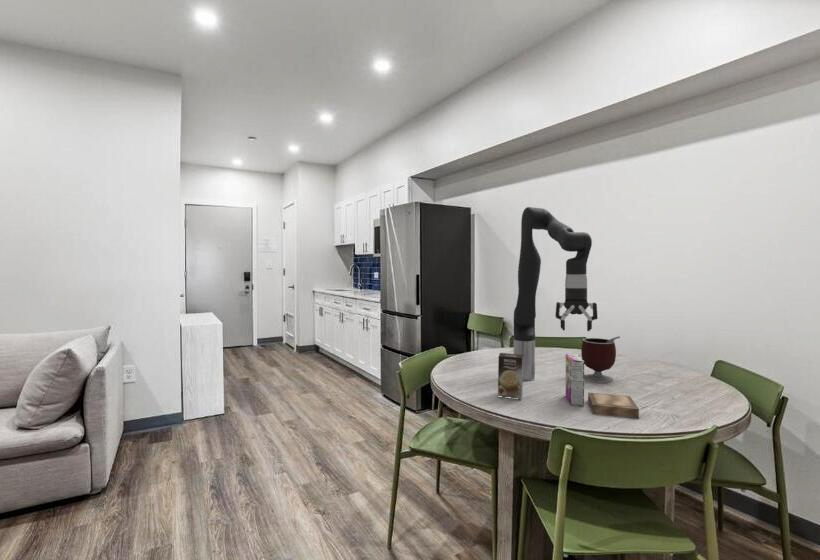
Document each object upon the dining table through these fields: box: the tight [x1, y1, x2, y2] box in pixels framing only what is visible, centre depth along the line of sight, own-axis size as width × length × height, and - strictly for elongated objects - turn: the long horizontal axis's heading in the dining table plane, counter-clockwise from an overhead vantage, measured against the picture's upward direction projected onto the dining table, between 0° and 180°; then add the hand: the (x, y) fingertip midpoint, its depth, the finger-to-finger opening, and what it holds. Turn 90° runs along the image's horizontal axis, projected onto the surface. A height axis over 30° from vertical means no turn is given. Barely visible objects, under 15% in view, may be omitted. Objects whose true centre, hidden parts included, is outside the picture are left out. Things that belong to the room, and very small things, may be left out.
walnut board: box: [587, 392, 640, 419], centre depth 144 cm, size 14×14×3 cm
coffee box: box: [497, 352, 524, 399], centre depth 158 cm, size 9×6×16 cm
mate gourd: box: [580, 335, 621, 384], centre depth 181 cm, size 16×14×20 cm
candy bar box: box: [565, 353, 585, 407], centre depth 153 cm, size 11×5×16 cm, turn 168°
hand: (576, 330), depth 152 cm, fingers open, 8 cm apart
